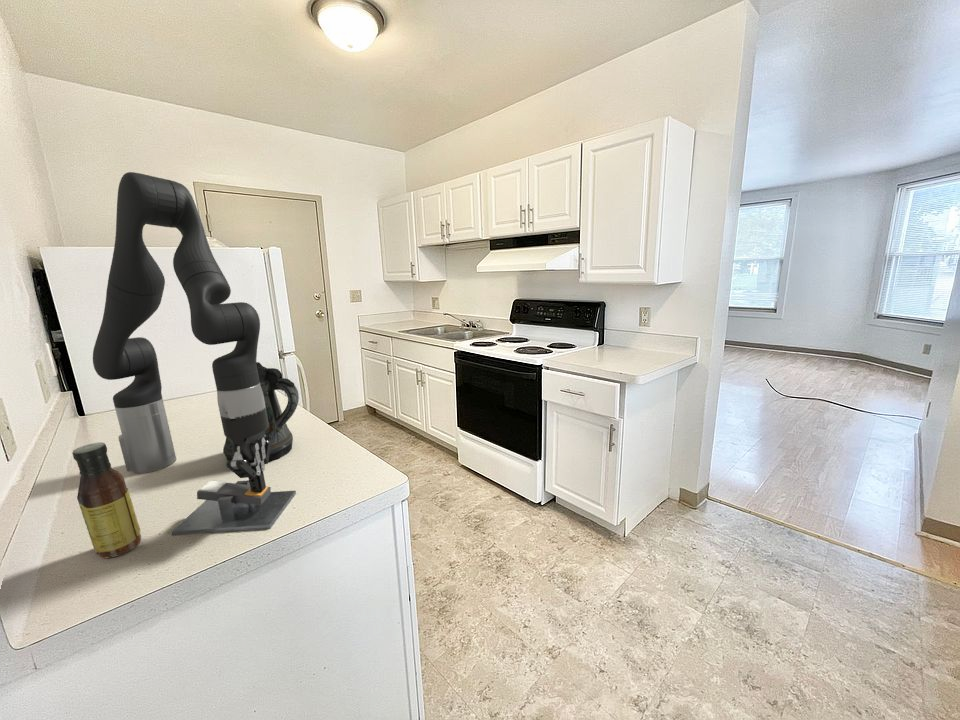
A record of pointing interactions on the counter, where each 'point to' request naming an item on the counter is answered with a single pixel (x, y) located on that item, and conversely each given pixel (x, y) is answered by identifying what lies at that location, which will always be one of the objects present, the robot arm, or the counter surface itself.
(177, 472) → the counter surface
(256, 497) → the lever
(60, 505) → the counter surface
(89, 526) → the sauce bottle
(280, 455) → the beer stein
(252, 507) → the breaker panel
